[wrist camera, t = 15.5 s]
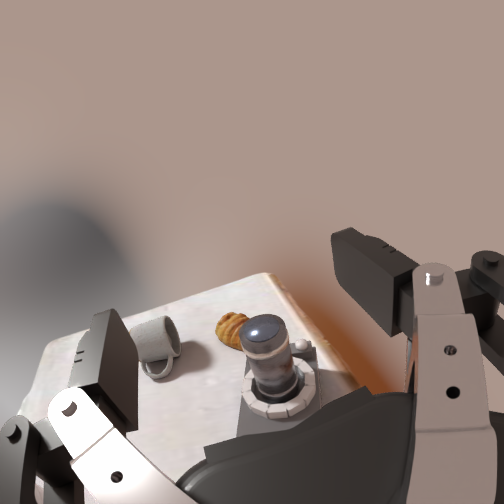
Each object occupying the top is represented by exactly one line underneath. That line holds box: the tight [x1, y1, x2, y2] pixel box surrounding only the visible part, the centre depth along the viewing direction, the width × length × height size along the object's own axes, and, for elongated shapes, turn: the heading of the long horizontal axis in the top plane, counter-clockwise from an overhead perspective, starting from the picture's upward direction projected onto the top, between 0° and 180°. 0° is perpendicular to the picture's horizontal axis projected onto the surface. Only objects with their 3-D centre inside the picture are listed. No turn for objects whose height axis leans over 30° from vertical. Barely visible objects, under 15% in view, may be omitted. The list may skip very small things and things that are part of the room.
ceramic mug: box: [129, 316, 181, 379], centre depth 53 cm, size 11×8×8 cm
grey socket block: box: [236, 339, 322, 437], centre depth 38 cm, size 10×14×7 cm
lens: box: [239, 314, 299, 404], centre depth 35 cm, size 5×5×11 cm
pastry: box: [215, 312, 250, 351], centre depth 55 cm, size 9×7×4 cm
